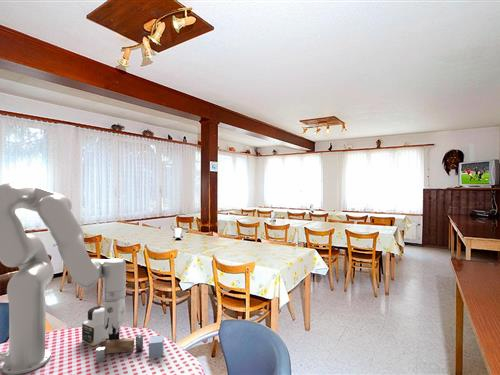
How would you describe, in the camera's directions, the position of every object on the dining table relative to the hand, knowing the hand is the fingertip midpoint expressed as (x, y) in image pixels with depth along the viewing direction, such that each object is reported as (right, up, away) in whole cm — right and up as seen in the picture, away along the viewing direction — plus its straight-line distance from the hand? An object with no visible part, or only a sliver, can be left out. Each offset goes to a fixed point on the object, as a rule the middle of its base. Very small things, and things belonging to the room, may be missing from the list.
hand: (114, 343), depth 103 cm
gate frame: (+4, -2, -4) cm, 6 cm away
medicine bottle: (-10, -2, +6) cm, 12 cm away
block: (+16, -2, -2) cm, 17 cm away
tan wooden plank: (+2, -2, -3) cm, 4 cm away
